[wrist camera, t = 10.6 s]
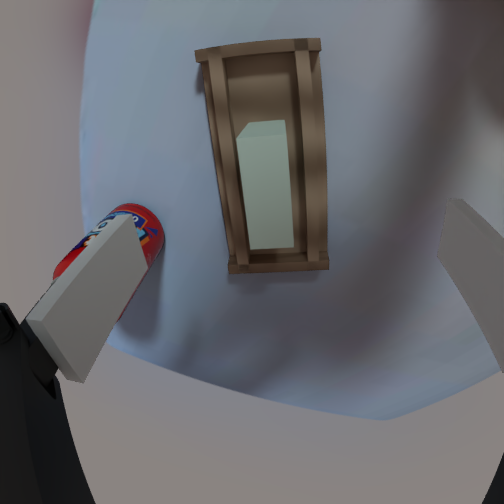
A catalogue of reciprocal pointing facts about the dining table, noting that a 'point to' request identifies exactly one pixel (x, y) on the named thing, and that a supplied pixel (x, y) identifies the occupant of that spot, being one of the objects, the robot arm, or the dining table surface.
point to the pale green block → (266, 184)
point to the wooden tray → (298, 142)
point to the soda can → (146, 230)
